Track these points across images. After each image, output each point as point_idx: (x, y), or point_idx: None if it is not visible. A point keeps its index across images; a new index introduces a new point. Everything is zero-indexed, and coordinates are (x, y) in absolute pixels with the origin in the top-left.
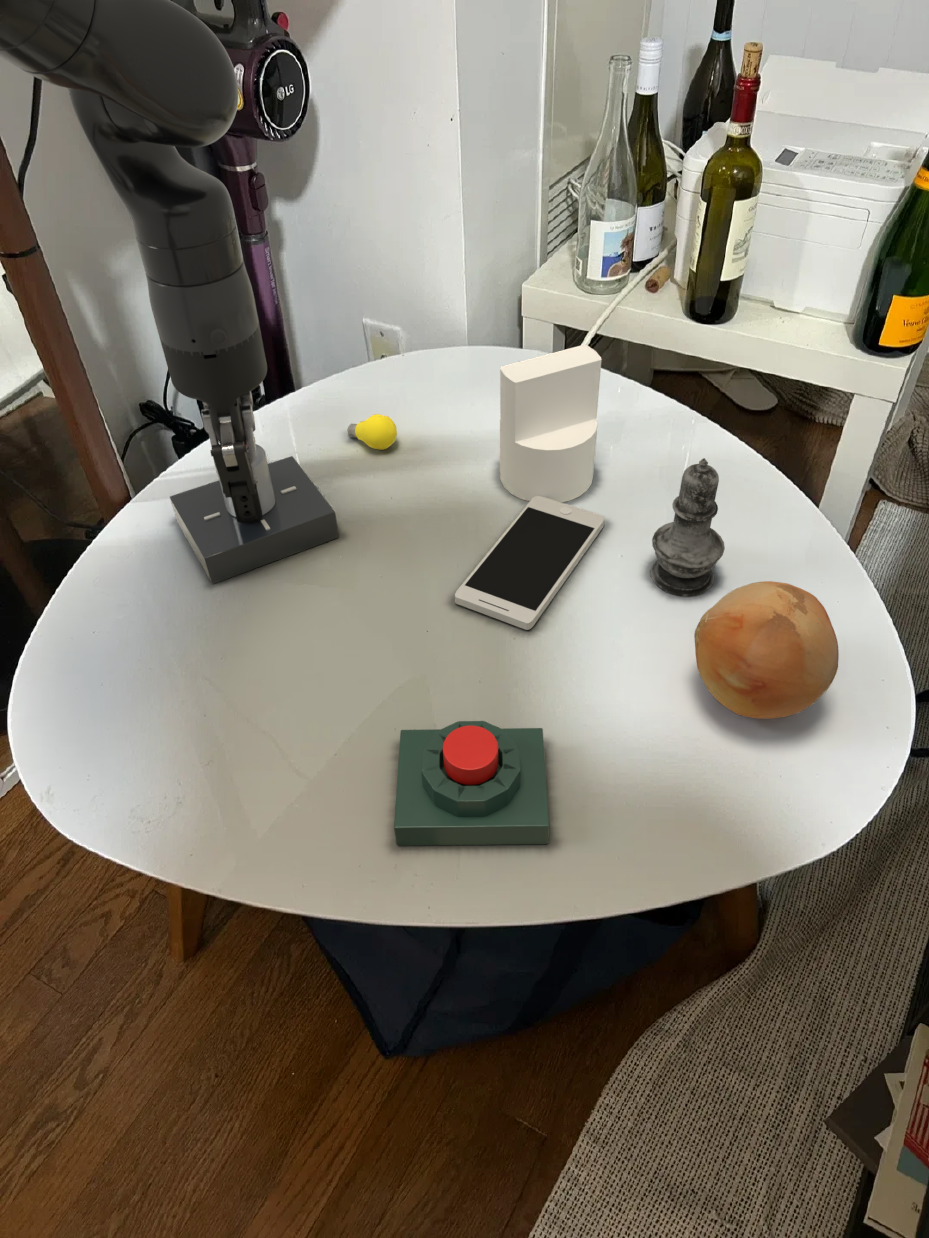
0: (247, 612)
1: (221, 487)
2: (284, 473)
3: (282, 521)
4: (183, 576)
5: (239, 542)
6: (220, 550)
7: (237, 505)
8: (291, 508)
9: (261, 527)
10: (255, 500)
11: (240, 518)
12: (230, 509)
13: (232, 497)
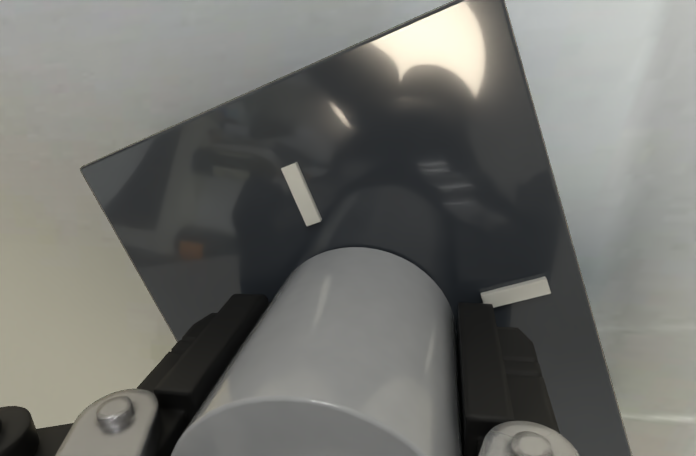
0: (57, 234)
1: (286, 313)
2: None
3: None
4: (187, 51)
5: (157, 281)
6: (117, 221)
7: (161, 362)
8: None
9: None
10: None
11: (196, 323)
12: (292, 277)
13: (182, 362)
